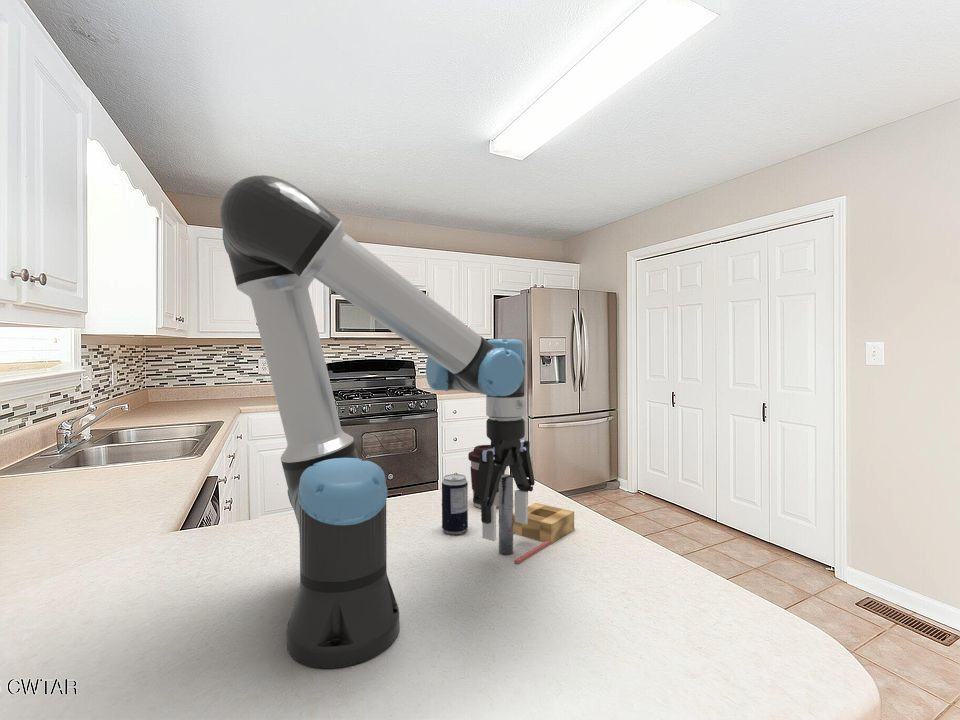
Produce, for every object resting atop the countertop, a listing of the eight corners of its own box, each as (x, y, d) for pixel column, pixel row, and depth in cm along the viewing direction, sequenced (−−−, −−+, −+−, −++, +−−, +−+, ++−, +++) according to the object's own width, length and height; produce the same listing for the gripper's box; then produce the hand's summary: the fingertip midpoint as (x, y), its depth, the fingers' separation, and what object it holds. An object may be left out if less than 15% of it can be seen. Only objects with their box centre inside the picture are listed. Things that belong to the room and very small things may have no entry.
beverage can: (469, 526, 107) (469, 473, 107) (466, 536, 101) (465, 480, 101) (444, 525, 107) (444, 473, 107) (439, 535, 102) (439, 480, 102)
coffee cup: (462, 502, 124) (462, 445, 124) (496, 497, 129) (496, 442, 128) (478, 513, 115) (478, 452, 115) (514, 507, 120) (513, 448, 119)
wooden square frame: (551, 543, 97) (551, 524, 97) (511, 532, 103) (511, 514, 103) (574, 529, 105) (574, 511, 105) (535, 519, 111) (535, 502, 111)
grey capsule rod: (507, 556, 91) (507, 478, 91) (496, 552, 93) (495, 476, 93) (515, 551, 93) (515, 475, 93) (504, 547, 95) (504, 473, 95)
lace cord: (518, 564, 88) (518, 561, 88) (514, 563, 88) (514, 559, 88) (550, 543, 97) (550, 540, 97) (547, 542, 98) (547, 539, 98)
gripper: (484, 426, 82) (485, 554, 82) (551, 413, 99) (551, 518, 100) (452, 422, 86) (453, 544, 87) (521, 410, 104) (522, 511, 104)
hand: (505, 530), depth 93 cm, fingers open, 10 cm apart
